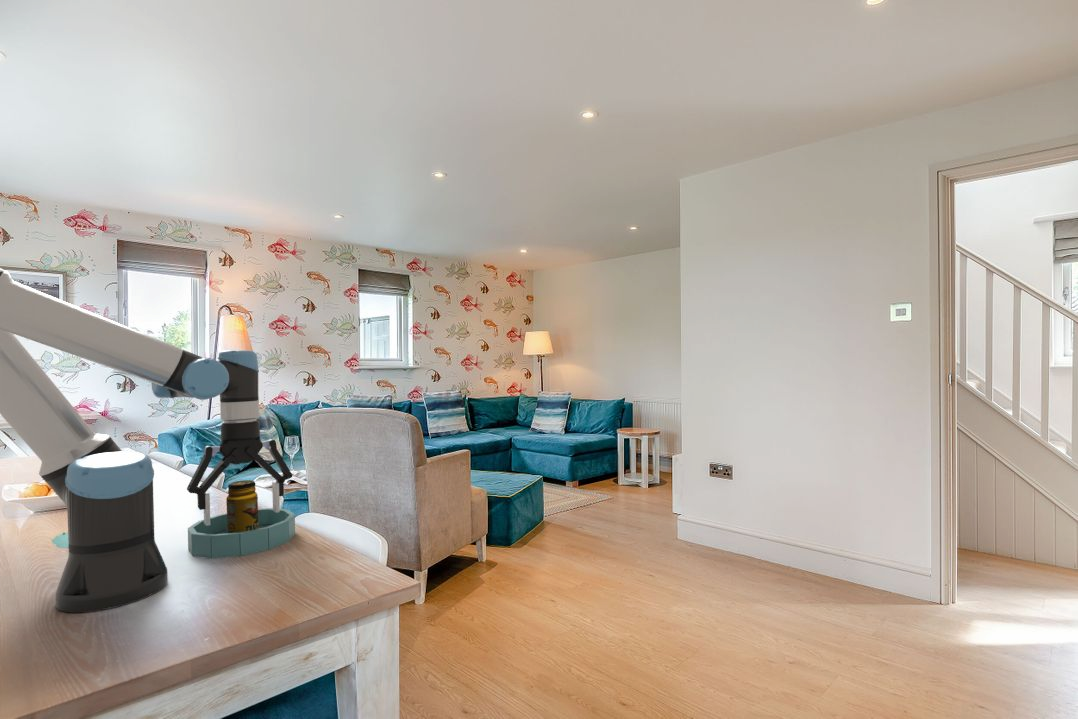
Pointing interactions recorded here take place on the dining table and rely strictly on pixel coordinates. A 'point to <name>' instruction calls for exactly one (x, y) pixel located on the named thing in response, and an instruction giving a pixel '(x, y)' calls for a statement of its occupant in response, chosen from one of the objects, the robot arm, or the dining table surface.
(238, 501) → the yellow cylindrical bottle
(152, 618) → the dining table surface
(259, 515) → the bowl
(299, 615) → the dining table surface
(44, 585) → the dining table surface
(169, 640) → the dining table surface
